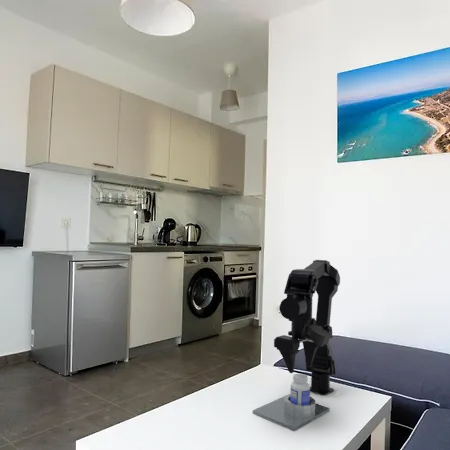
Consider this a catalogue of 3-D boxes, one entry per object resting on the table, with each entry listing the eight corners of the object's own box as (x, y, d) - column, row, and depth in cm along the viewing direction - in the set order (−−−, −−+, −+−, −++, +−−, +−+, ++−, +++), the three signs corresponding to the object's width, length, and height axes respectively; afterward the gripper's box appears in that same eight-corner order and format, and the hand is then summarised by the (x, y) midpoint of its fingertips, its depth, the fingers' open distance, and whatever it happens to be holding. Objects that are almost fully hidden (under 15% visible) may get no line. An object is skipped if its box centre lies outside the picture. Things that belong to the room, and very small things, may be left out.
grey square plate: (289, 396, 124) (289, 384, 124) (329, 411, 114) (329, 397, 114) (252, 413, 111) (252, 399, 111) (294, 431, 101) (294, 416, 101)
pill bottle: (309, 407, 114) (310, 373, 114) (309, 415, 108) (310, 379, 109) (290, 405, 115) (291, 371, 115) (289, 413, 110) (290, 377, 110)
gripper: (308, 322, 101) (307, 385, 100) (343, 314, 114) (342, 369, 113) (273, 316, 108) (271, 373, 108) (310, 309, 122) (308, 360, 121)
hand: (300, 369), depth 112 cm, fingers open, 9 cm apart
